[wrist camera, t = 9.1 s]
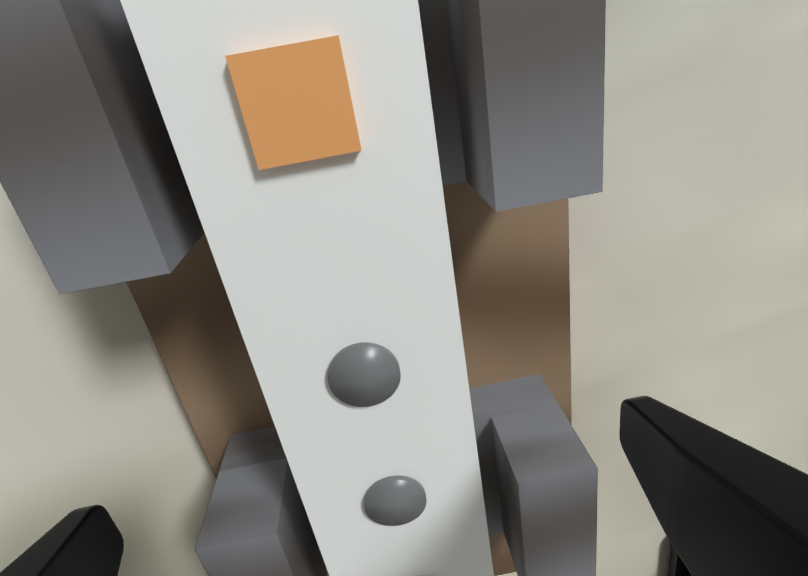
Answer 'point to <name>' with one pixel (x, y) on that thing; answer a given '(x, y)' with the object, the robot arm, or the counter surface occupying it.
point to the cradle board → (208, 301)
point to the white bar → (333, 260)
